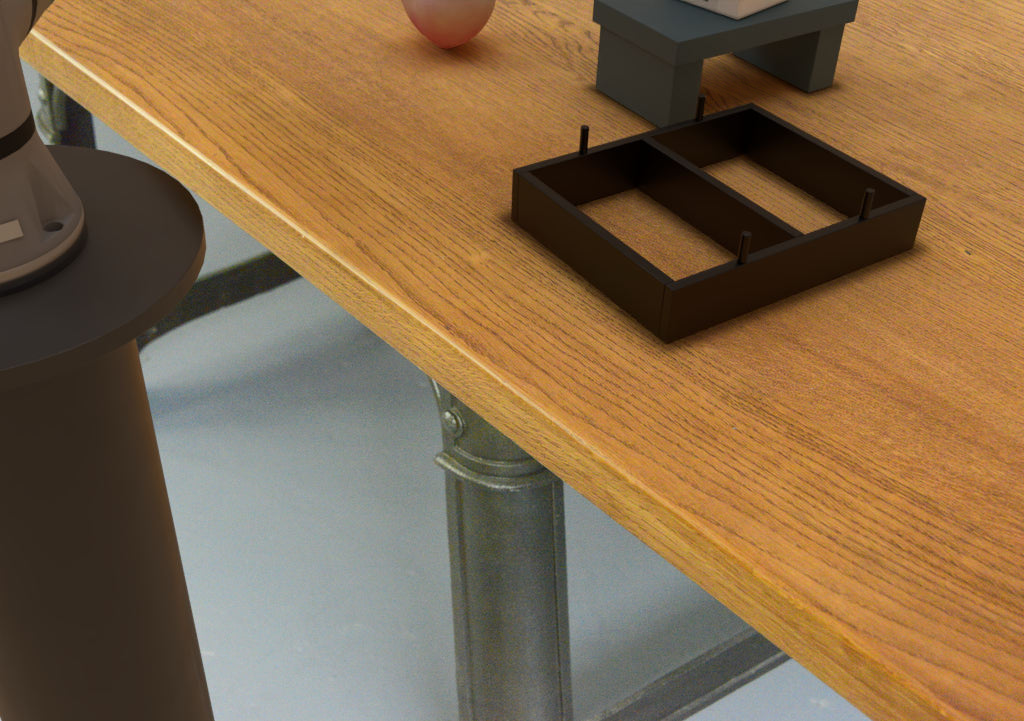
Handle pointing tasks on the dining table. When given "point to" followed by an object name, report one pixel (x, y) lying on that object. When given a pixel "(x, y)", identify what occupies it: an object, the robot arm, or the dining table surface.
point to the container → (735, 6)
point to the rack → (714, 215)
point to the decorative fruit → (449, 19)
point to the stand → (710, 49)
